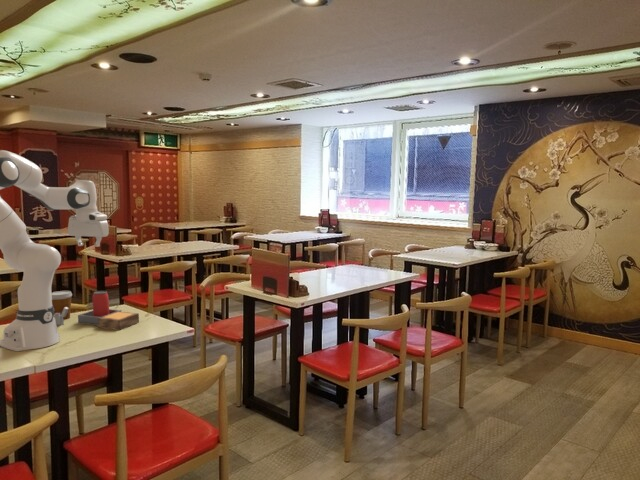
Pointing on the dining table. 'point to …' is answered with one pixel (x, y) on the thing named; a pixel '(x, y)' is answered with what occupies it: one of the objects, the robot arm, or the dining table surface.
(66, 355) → the dining table surface
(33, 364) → the dining table surface
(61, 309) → the disposable coffee cup
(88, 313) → the tray
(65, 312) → the lighter
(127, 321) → the checker stand
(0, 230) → the robot arm
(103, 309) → the beer can
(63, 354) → the dining table surface
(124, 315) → the orange square panel
